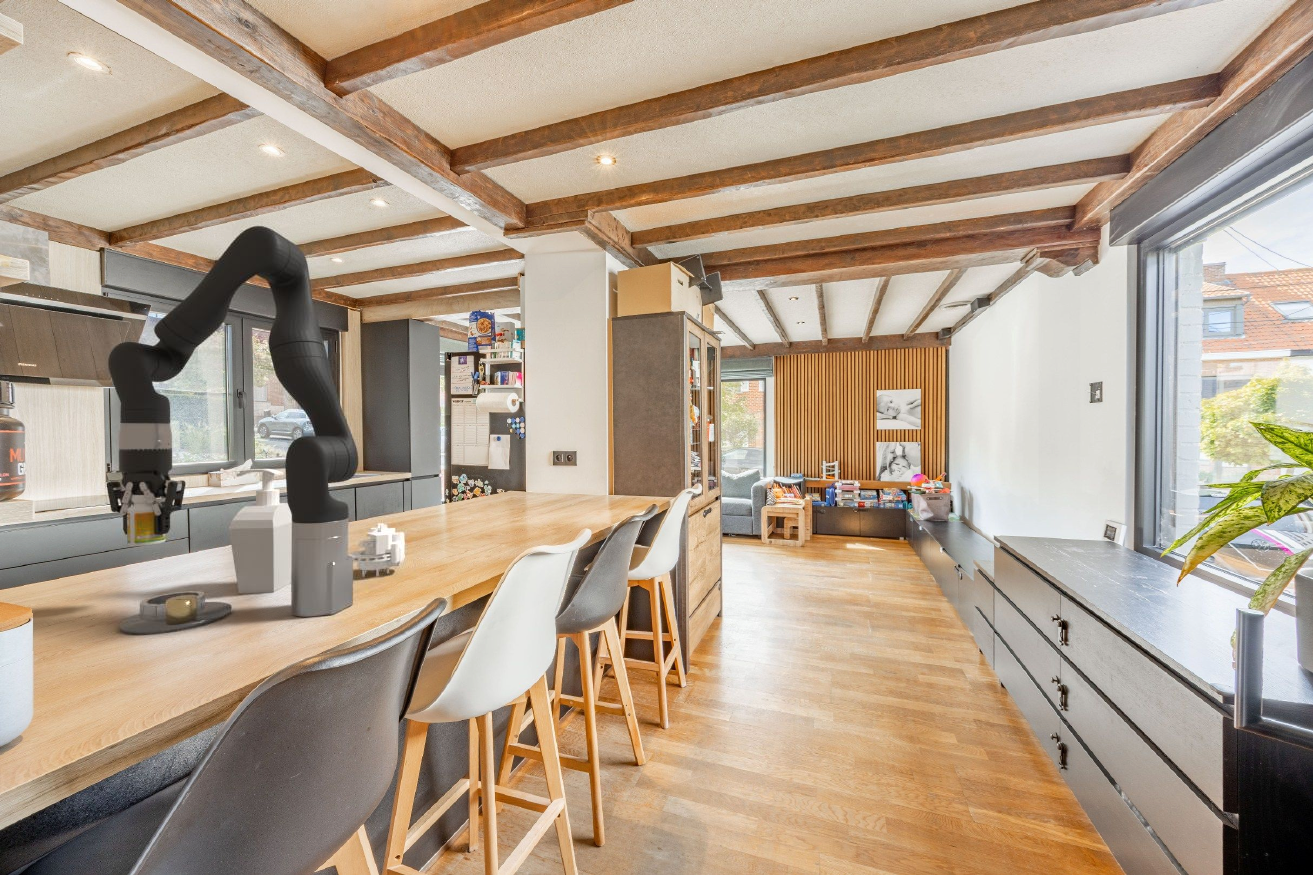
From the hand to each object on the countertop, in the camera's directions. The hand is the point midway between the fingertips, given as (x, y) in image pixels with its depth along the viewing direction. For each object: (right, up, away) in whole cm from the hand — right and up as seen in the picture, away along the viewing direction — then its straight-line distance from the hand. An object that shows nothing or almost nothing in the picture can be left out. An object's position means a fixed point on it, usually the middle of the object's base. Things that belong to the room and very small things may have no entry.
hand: (146, 533), depth 103 cm
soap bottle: (+13, -14, +13) cm, 23 cm away
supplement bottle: (0, -2, 0) cm, 2 cm away
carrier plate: (+13, -14, -7) cm, 20 cm away
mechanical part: (+32, -14, +25) cm, 43 cm away
